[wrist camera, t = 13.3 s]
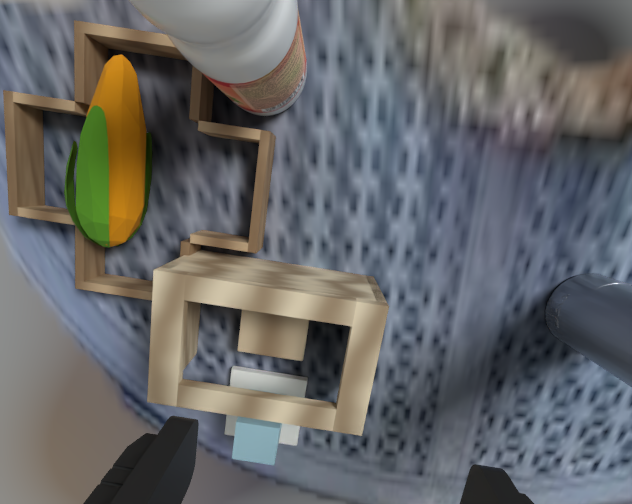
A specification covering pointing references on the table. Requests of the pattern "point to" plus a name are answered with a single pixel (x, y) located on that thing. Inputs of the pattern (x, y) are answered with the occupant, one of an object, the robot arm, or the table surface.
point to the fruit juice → (238, 46)
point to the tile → (268, 383)
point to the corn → (111, 160)
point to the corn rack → (89, 64)
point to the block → (256, 440)
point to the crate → (264, 334)
